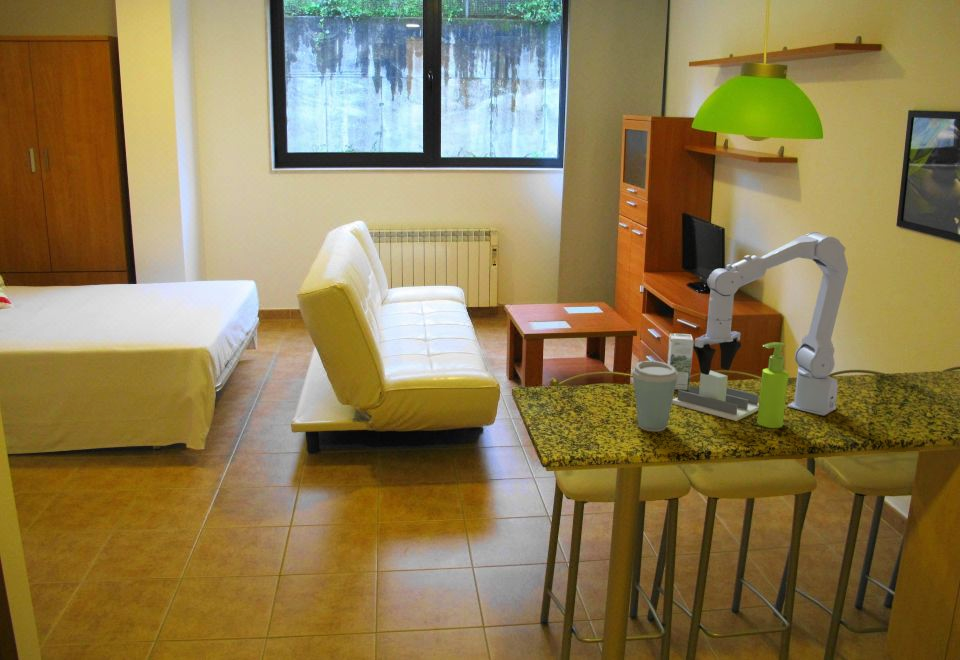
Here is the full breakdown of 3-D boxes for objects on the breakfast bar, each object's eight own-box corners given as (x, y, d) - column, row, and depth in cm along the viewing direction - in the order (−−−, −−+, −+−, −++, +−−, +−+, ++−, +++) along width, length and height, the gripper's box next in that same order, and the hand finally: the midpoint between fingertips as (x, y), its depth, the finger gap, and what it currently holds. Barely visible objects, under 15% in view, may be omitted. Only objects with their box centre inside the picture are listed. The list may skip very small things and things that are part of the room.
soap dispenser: (748, 421, 216) (756, 341, 211) (771, 418, 219) (779, 339, 214) (764, 429, 211) (773, 347, 206) (788, 426, 213) (797, 345, 209)
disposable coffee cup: (684, 430, 209) (689, 368, 205) (649, 438, 203) (654, 374, 200) (652, 417, 217) (657, 357, 214) (618, 424, 212) (622, 363, 208)
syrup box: (686, 385, 244) (691, 333, 240) (689, 391, 238) (693, 338, 235) (665, 383, 244) (669, 332, 241) (667, 390, 239) (671, 337, 235)
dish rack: (762, 408, 226) (764, 394, 225) (736, 421, 216) (738, 407, 215) (699, 391, 238) (700, 379, 237) (671, 403, 228) (672, 390, 227)
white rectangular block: (698, 402, 226) (700, 371, 224) (706, 400, 228) (708, 369, 226) (716, 408, 222) (719, 377, 220) (724, 406, 223) (727, 375, 221)
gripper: (712, 324, 212) (707, 379, 215) (752, 318, 220) (747, 371, 224) (690, 318, 218) (685, 372, 221) (729, 312, 226) (724, 364, 229)
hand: (715, 371), depth 223 cm, fingers open, 7 cm apart
